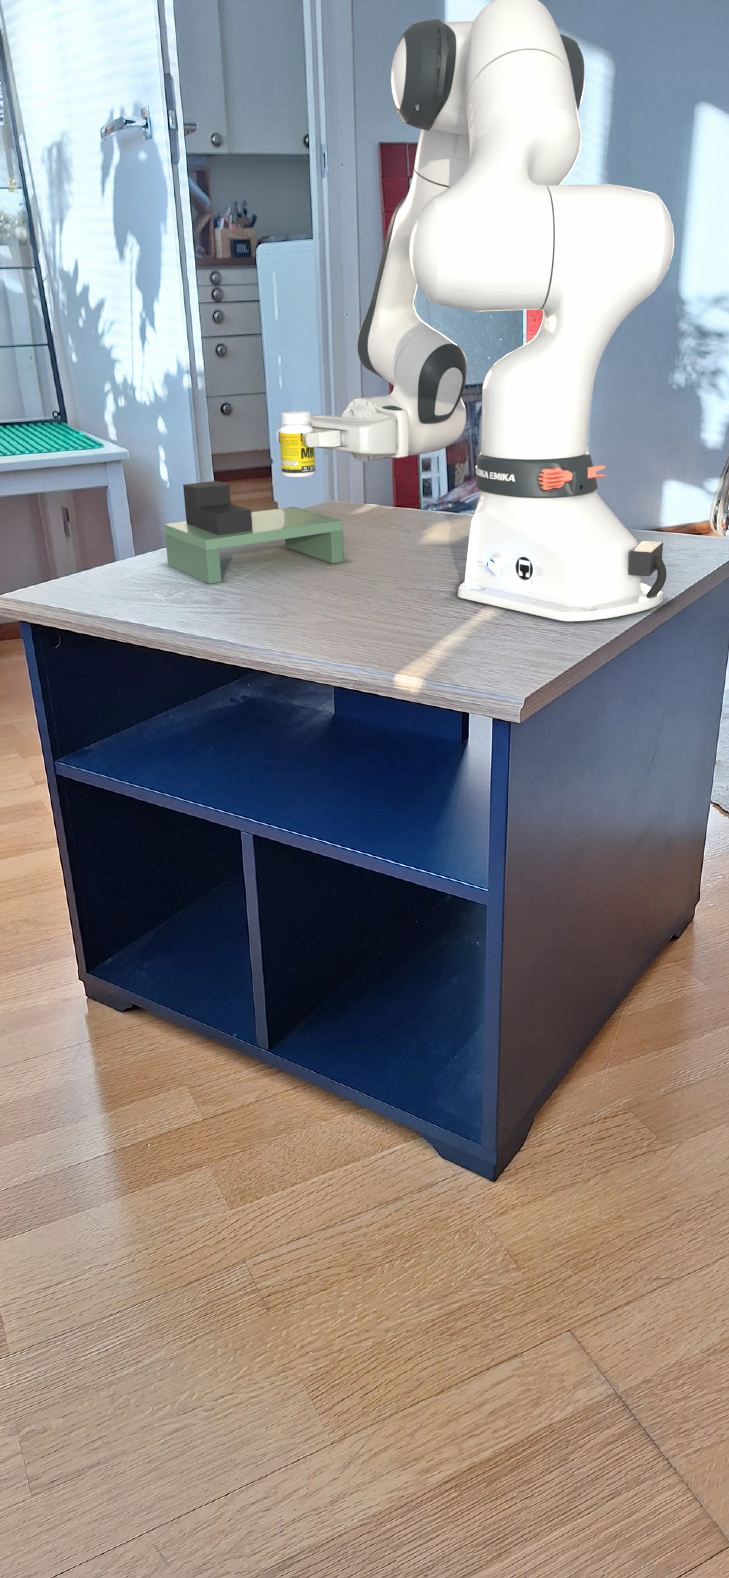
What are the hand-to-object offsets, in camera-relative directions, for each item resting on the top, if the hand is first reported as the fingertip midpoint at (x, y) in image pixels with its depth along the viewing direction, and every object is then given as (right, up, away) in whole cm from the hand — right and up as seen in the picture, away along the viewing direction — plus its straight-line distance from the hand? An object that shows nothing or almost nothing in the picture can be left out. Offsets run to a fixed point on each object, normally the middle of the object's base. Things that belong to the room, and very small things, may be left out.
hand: (291, 439), depth 154 cm
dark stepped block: (-7, -17, -22) cm, 29 cm away
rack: (-3, -21, -17) cm, 27 cm away
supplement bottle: (+1, -5, +3) cm, 5 cm away
